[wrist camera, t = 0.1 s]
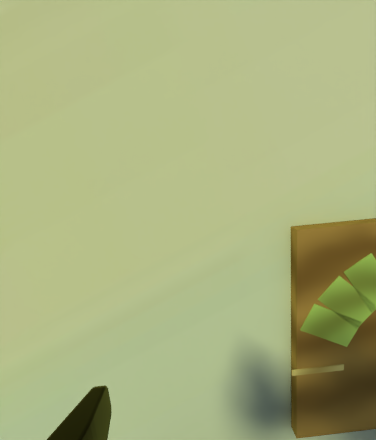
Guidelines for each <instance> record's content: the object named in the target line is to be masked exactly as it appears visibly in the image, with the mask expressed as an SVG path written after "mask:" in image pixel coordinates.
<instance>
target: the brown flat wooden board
mask: <svg viewBox="0 0 376 440" xmlns="http://www.w3.org/2000/svg"><path fill="white" fill-rule="evenodd" d="M291 427H292V429H293V431H294V434H295V436H296V438H304V437H312V436H320V435H329V434H337V433H345V432H353V431H362V430H370V429H376V218H374V219H364V220H354V221H343V222H333V223H323V224H313V225H303V226H293V227H291Z"/></svg>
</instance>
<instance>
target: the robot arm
mask: <svg viewBox="0 0 376 440" xmlns="http://www.w3.org/2000/svg"><path fill="white" fill-rule="evenodd" d="M110 419H111V403H110V397H109V392H108V388H107V386H97V387H94V388H92V389H91V390H90V391H89V392H88V394H87V395H86V396H85V397H84V398H83V399H82V400H81V402H80V403H79V404H78V405H77V406H76V407H75V408H74V409H73V411H72V412H71V413H70V414H69V415H68V416H67V417H66V418H65V420H64V421H63V422H62V423H61V424H60V425H59V426H58V427H57V429H56V430H55V431H54V432H53V433H52V434H51V435H50V437H49V438H48V439H47V440H107V438H108V432H109V426H110Z"/></svg>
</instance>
